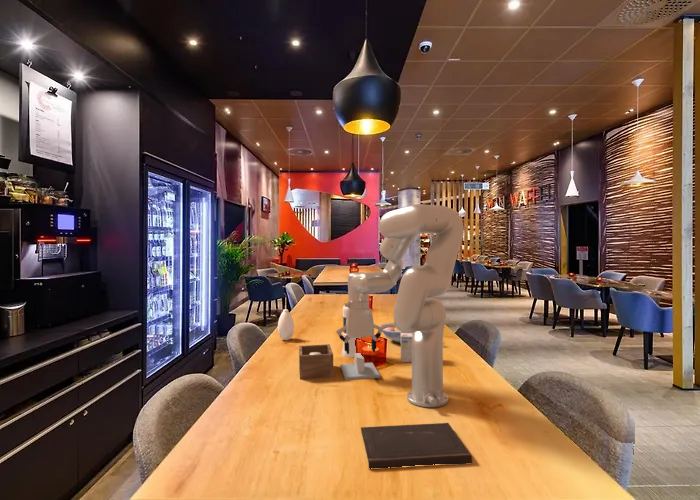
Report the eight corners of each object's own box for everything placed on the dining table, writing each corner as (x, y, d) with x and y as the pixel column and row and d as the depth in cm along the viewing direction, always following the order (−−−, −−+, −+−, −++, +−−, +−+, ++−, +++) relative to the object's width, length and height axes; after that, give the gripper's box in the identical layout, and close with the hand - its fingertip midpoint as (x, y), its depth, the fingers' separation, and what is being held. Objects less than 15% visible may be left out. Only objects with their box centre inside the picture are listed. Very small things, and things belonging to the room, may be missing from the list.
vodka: (347, 352, 176) (346, 285, 175) (366, 354, 172) (365, 285, 171) (338, 357, 167) (337, 287, 167) (358, 360, 164) (357, 288, 163)
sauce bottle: (297, 339, 200) (296, 303, 200) (286, 342, 194) (286, 306, 193) (285, 337, 205) (284, 302, 204) (274, 340, 198) (274, 304, 198)
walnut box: (333, 379, 141) (333, 354, 141) (299, 381, 140) (299, 356, 139) (330, 367, 155) (329, 344, 155) (299, 368, 154) (298, 345, 153)
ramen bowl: (372, 337, 202) (372, 321, 202) (412, 334, 209) (412, 318, 209) (391, 350, 178) (391, 332, 178) (436, 345, 185) (436, 328, 185)
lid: (380, 380, 140) (380, 361, 140) (345, 382, 139) (344, 363, 138) (372, 367, 155) (372, 349, 155) (340, 369, 153) (340, 351, 153)
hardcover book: (360, 436, 101) (360, 427, 101) (448, 431, 103) (448, 422, 103) (368, 472, 85) (368, 462, 85) (472, 466, 87) (472, 455, 87)
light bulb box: (426, 358, 166) (425, 332, 166) (427, 362, 159) (427, 336, 159) (400, 357, 167) (400, 332, 167) (400, 362, 160) (400, 336, 160)
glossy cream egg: (321, 370, 149) (321, 354, 149) (310, 371, 148) (310, 355, 148) (320, 366, 153) (320, 351, 153) (308, 367, 152) (308, 352, 152)
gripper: (336, 308, 141) (338, 356, 141) (383, 305, 143) (385, 352, 143) (334, 305, 148) (336, 351, 148) (379, 303, 151) (381, 348, 151)
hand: (360, 352), depth 146 cm, fingers open, 9 cm apart
